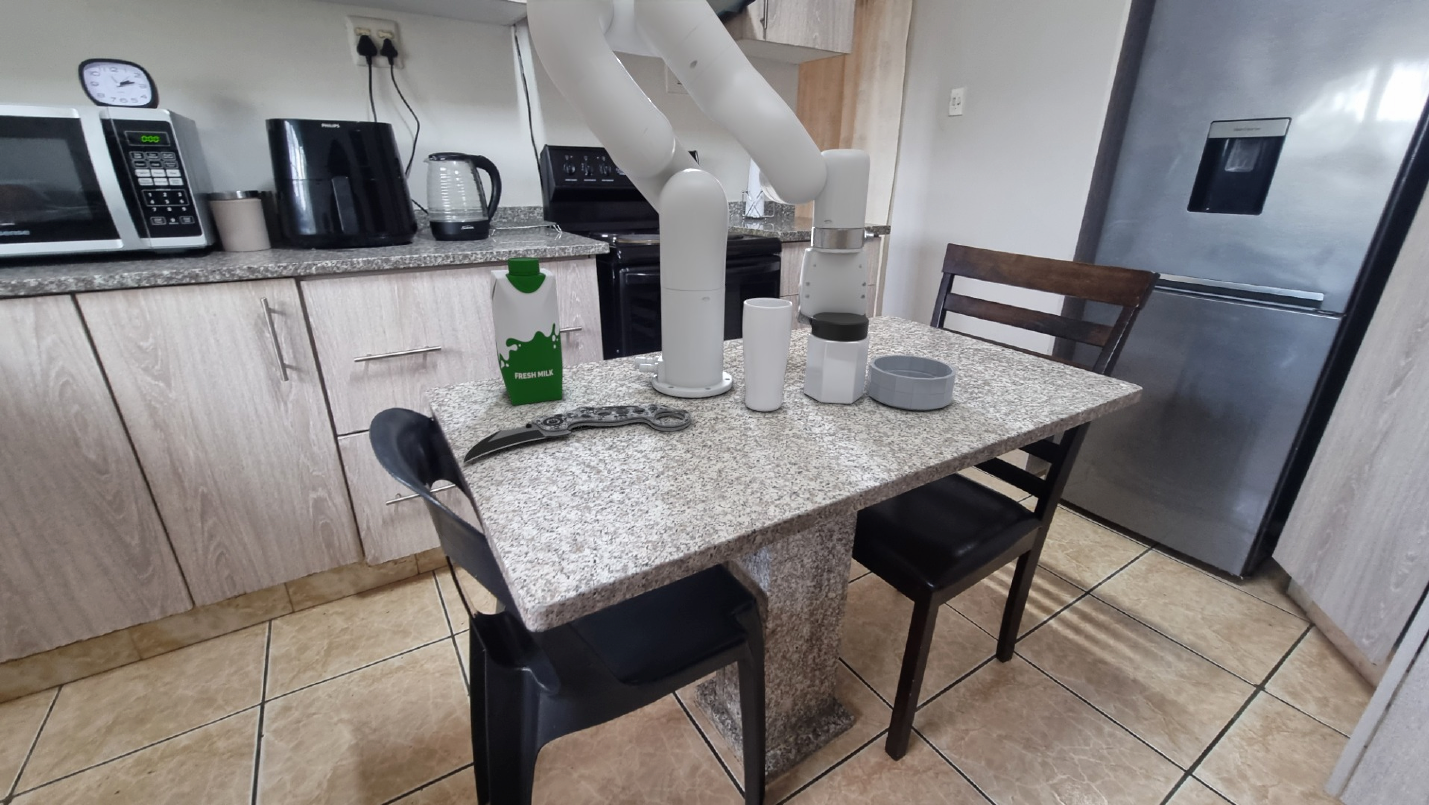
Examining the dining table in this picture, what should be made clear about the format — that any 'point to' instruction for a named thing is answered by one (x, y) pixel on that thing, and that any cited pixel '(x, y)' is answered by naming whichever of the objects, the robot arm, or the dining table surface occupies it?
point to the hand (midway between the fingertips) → (827, 359)
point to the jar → (837, 357)
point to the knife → (580, 424)
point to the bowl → (911, 382)
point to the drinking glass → (766, 350)
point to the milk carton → (527, 331)
